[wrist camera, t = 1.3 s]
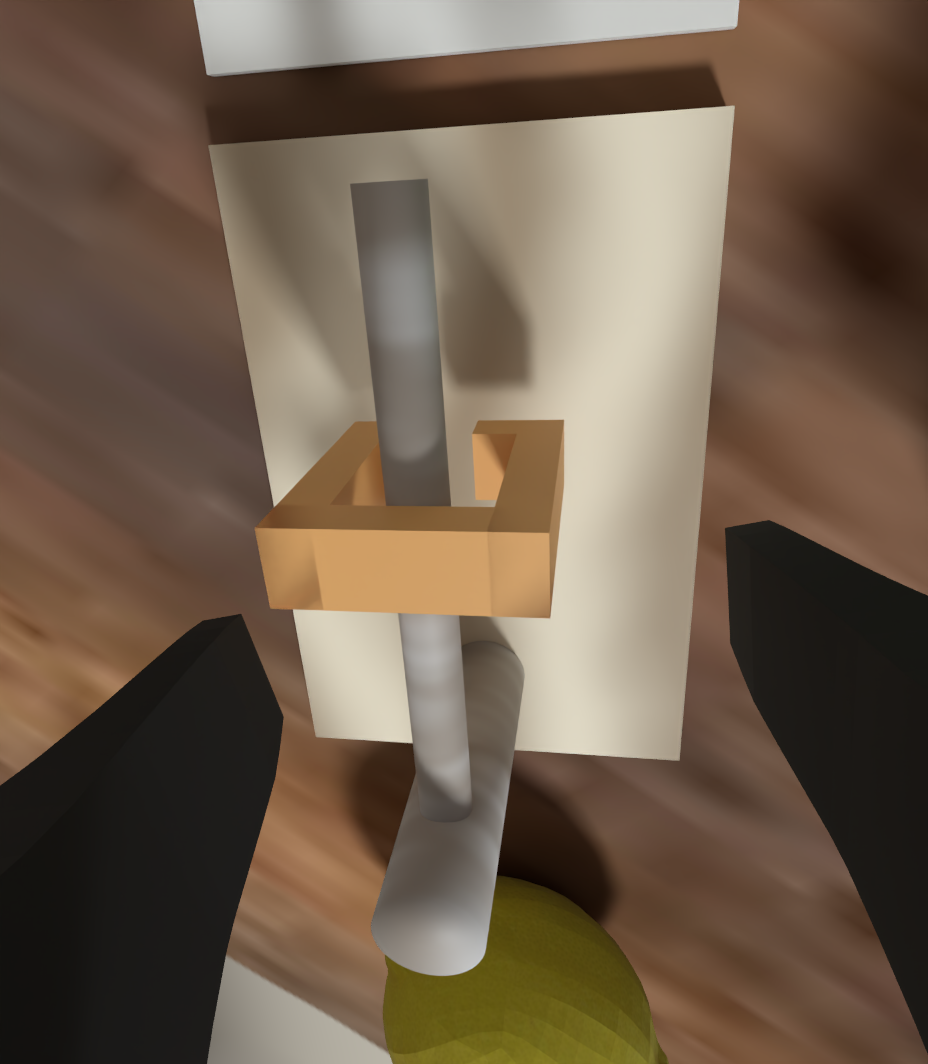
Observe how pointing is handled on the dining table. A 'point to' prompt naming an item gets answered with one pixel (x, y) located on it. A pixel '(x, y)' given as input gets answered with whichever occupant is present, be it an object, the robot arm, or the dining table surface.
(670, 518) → the hook stand
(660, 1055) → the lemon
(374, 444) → the c link
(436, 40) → the grey mat
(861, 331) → the dining table surface
